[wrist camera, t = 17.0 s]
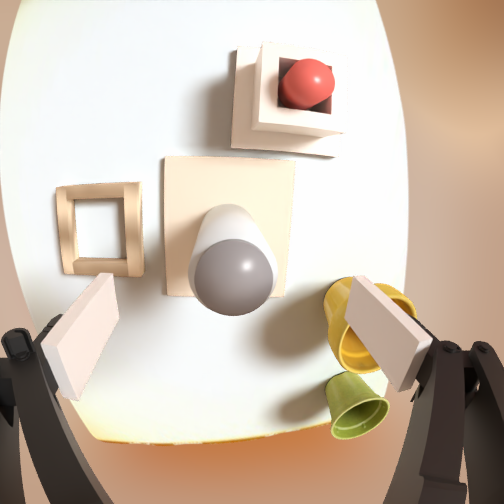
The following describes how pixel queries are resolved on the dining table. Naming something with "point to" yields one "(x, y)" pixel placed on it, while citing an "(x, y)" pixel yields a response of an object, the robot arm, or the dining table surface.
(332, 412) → the plant pot
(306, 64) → the latch button
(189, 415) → the dining table surface
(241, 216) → the filter cartridge
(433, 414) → the robot arm
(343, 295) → the plant pot
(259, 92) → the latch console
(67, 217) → the socket
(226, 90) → the dining table surface
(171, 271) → the sand mat
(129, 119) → the dining table surface
